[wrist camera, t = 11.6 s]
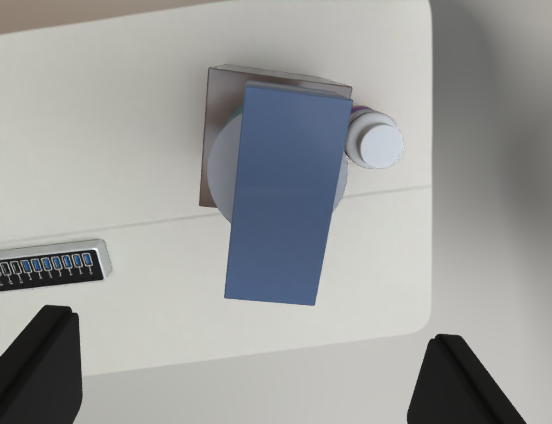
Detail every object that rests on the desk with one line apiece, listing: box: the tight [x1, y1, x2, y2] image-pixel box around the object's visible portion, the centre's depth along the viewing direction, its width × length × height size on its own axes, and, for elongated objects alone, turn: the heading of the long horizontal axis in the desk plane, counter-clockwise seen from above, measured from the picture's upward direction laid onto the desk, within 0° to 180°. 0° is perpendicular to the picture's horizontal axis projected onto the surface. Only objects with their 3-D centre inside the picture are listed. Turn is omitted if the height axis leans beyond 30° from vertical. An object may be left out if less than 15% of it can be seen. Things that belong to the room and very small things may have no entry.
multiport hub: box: [0, 239, 112, 293], centre depth 48 cm, size 4×14×2 cm, turn 96°
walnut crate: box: [199, 64, 352, 208], centre depth 37 cm, size 10×10×16 cm
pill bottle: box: [344, 106, 404, 169], centre depth 41 cm, size 5×5×10 cm
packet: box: [224, 80, 353, 306], centre depth 21 cm, size 10×4×5 cm, turn 173°
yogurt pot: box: [207, 105, 347, 223], centre depth 27 cm, size 8×8×7 cm
